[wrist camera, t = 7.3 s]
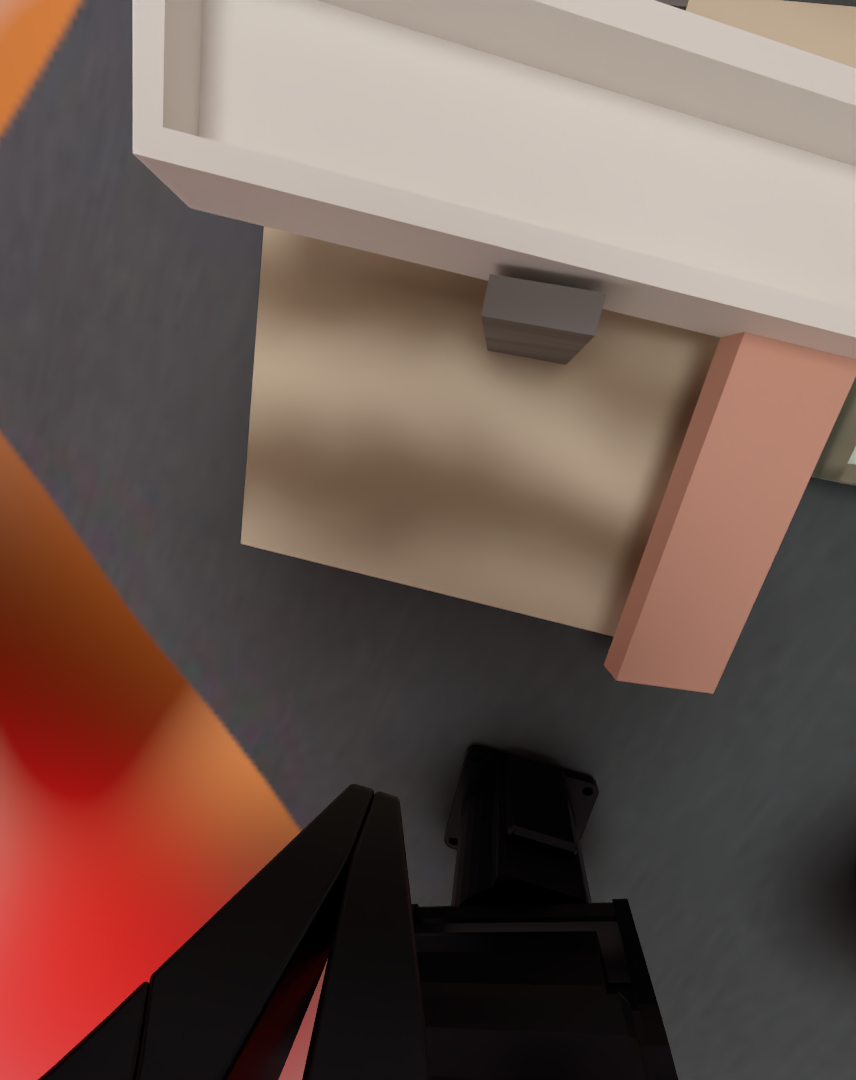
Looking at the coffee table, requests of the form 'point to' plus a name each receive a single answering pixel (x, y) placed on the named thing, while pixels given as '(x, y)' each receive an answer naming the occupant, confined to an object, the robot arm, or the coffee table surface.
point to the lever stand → (477, 410)
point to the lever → (562, 217)
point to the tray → (840, 446)
